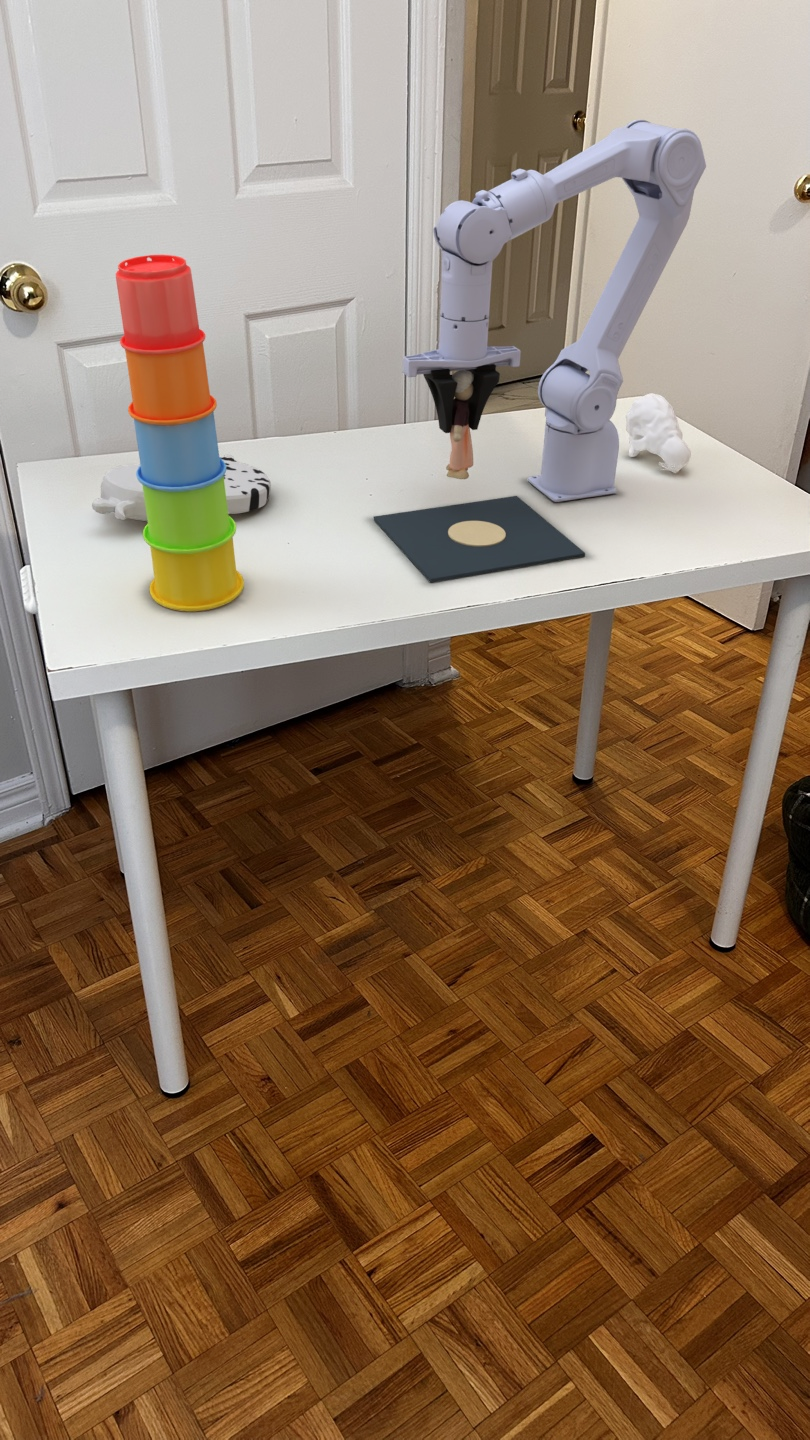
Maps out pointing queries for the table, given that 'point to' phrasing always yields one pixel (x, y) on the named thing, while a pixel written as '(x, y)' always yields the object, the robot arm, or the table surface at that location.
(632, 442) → the white lumpy figurine
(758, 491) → the table surface
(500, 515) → the display mat
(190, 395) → the stacking cups
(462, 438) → the grandmother figurine
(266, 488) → the toy
